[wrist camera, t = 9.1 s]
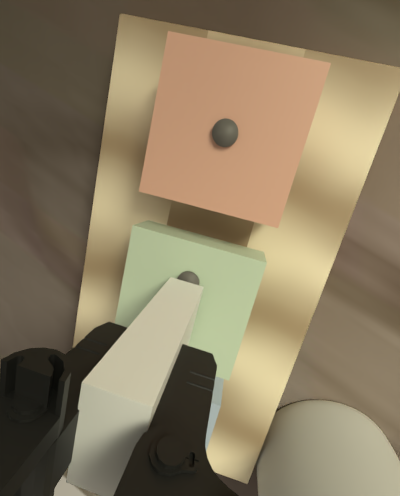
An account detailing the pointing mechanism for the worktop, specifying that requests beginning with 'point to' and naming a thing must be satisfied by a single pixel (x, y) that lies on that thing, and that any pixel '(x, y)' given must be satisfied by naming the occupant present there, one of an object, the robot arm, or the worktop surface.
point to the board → (238, 219)
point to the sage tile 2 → (196, 272)
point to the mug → (326, 453)
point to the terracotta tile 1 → (230, 126)
